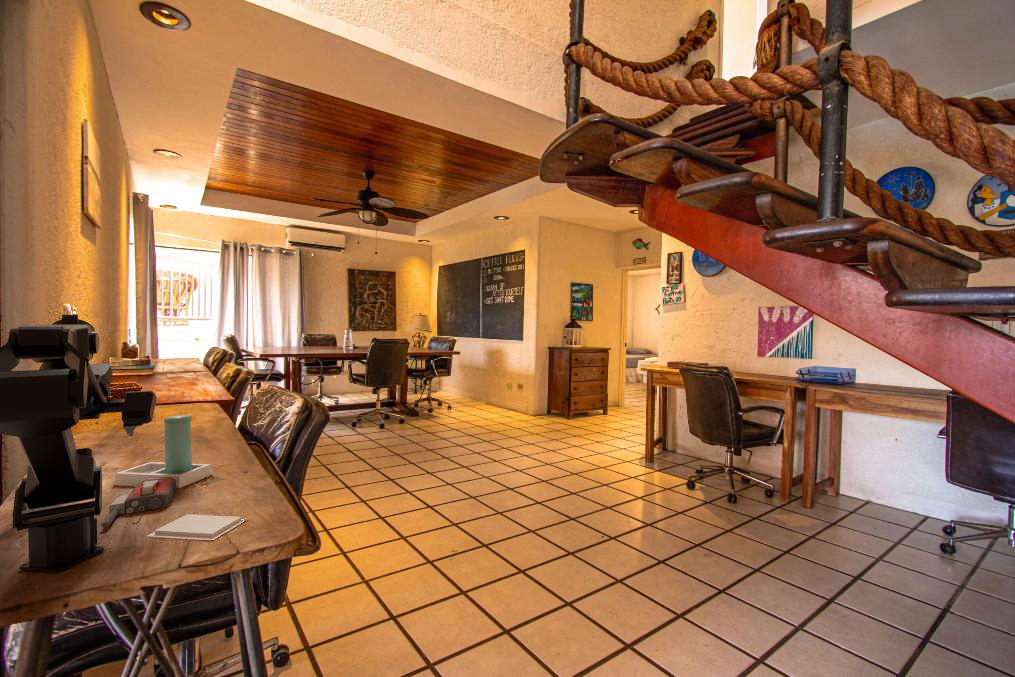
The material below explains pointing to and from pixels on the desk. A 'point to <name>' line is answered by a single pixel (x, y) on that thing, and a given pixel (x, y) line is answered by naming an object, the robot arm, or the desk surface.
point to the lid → (197, 527)
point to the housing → (161, 474)
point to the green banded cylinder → (178, 444)
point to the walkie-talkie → (143, 498)
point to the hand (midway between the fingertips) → (100, 437)
